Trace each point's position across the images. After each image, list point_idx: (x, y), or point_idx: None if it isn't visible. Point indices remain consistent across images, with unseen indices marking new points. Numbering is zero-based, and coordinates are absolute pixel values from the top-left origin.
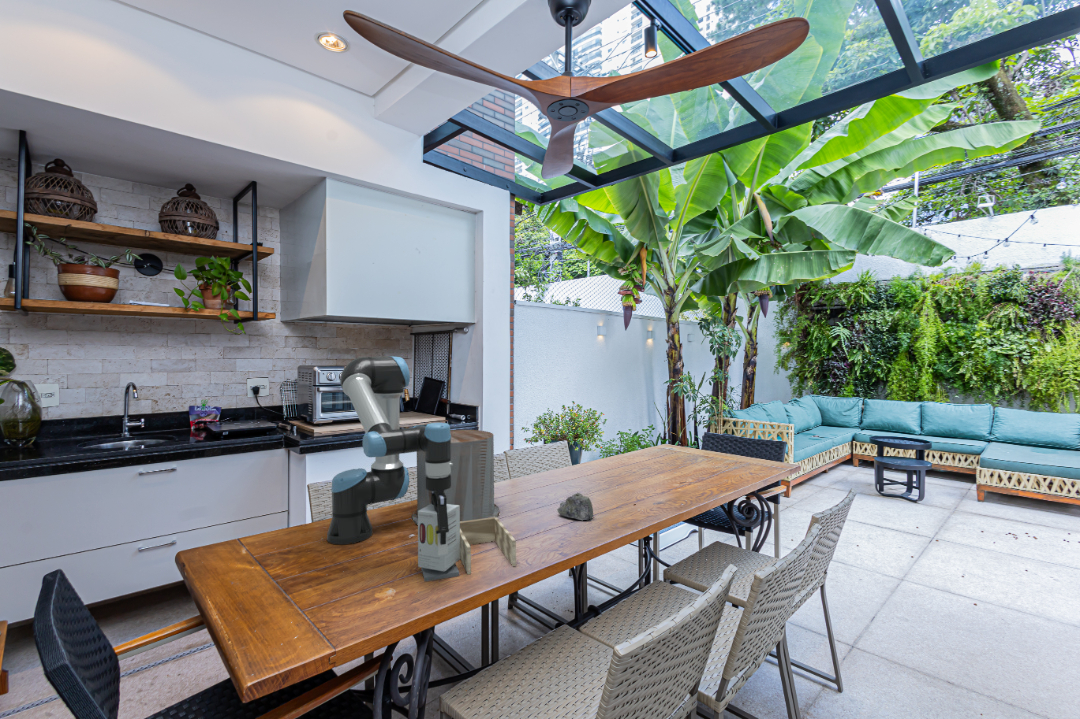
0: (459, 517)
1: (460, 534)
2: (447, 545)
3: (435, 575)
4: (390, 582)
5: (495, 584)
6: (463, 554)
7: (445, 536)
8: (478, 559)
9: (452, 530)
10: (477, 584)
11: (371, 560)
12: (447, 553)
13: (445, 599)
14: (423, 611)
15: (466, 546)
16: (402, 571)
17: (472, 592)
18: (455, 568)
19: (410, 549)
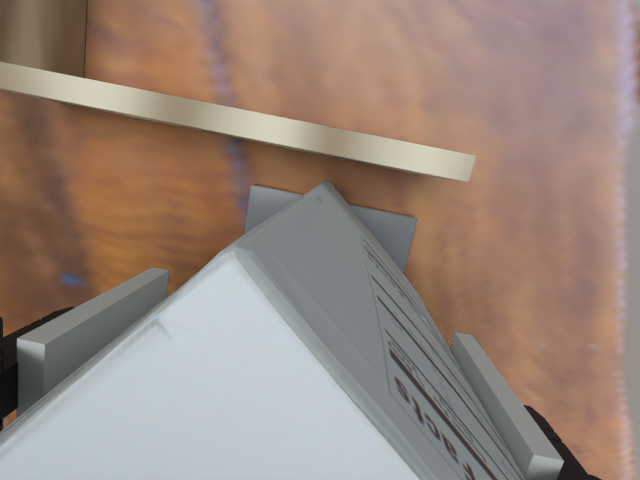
0: (302, 212)
1: (187, 124)
2: (497, 370)
3: None
4: None
5: (611, 98)
6: (317, 153)
7: (580, 468)
8: (291, 52)
9: (421, 327)
10: (549, 177)
11: None
12: (474, 339)
13: (577, 345)
14: (604, 439)
15: (433, 175)
16: None
17: (603, 228)
18: (371, 221)
19: (22, 303)
